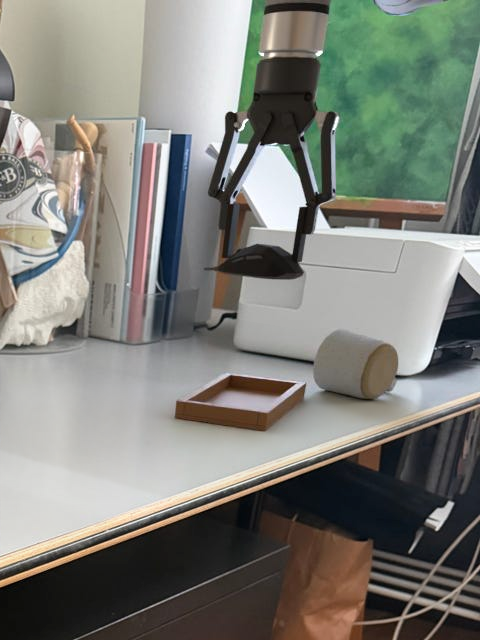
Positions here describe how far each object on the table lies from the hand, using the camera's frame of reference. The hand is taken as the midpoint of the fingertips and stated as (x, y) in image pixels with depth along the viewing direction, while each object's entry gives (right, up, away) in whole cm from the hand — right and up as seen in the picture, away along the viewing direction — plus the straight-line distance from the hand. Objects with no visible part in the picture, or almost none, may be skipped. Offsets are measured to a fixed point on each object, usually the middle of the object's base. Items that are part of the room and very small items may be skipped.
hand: (261, 259), depth 123 cm
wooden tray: (-5, -22, -10) cm, 25 cm away
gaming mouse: (-1, -2, +1) cm, 3 cm away
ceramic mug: (+12, -18, -1) cm, 22 cm away
